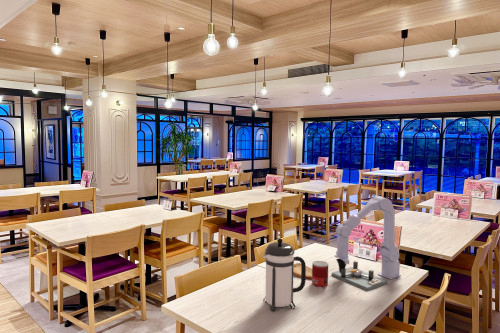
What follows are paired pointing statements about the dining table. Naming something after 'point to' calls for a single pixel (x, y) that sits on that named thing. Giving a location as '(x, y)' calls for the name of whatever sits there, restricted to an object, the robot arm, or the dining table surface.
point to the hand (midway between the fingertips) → (341, 272)
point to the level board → (361, 280)
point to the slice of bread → (298, 271)
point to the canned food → (320, 273)
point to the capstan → (356, 272)
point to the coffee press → (281, 274)
